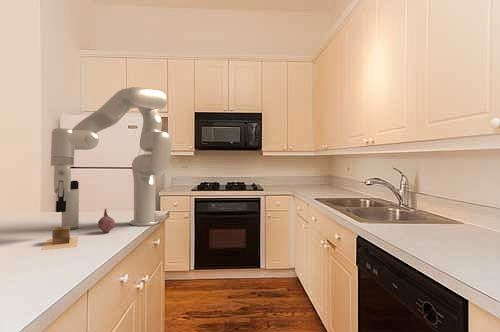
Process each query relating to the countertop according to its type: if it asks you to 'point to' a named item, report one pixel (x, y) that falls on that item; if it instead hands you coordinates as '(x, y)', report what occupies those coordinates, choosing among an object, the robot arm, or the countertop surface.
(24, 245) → the countertop surface
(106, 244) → the countertop surface
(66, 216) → the travel mug
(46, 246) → the letter
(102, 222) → the vegetable
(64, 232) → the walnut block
